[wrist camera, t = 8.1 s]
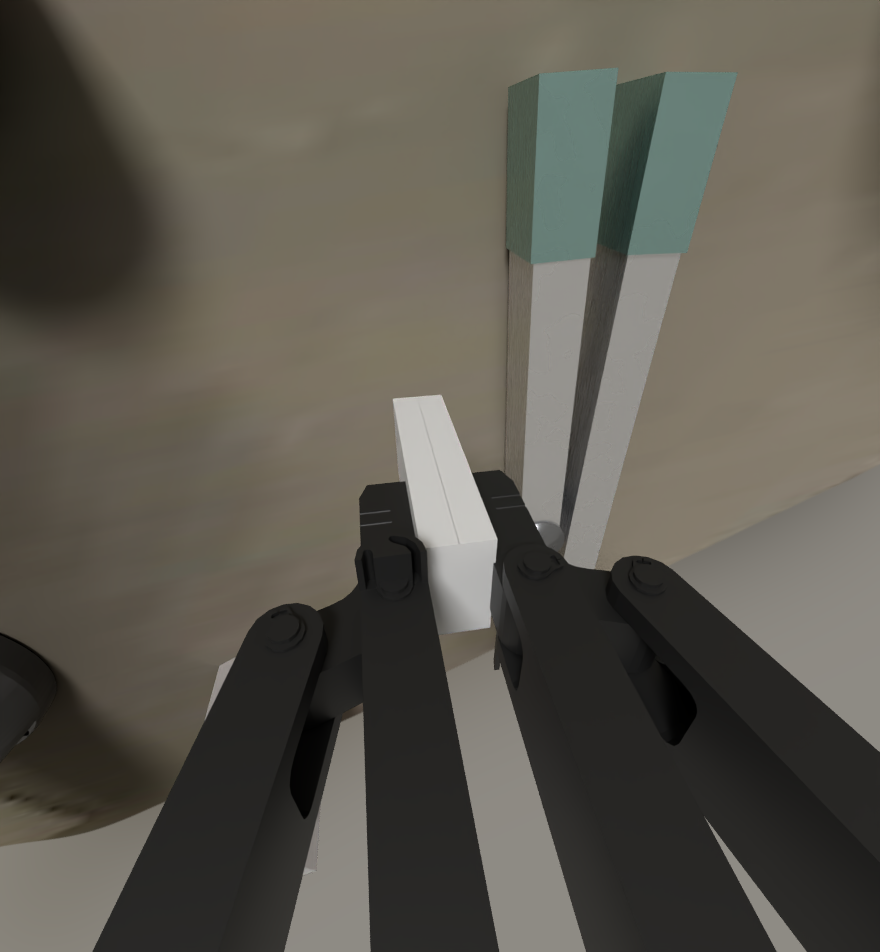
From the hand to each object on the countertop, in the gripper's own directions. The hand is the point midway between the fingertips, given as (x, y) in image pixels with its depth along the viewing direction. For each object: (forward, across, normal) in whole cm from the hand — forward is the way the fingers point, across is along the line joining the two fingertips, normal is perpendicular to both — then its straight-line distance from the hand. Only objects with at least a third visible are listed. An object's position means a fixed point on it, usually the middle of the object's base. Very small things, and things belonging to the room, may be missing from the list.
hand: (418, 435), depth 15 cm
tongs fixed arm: (+12, +10, -4) cm, 16 cm away
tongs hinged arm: (+11, +8, -2) cm, 14 cm away
